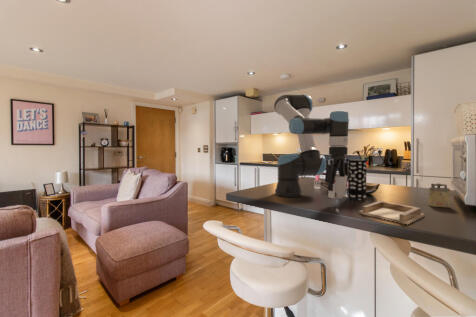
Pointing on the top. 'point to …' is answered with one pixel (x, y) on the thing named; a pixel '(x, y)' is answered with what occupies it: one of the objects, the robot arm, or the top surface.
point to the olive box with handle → (439, 196)
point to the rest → (392, 212)
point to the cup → (340, 185)
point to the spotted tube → (357, 179)
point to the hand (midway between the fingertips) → (336, 196)
